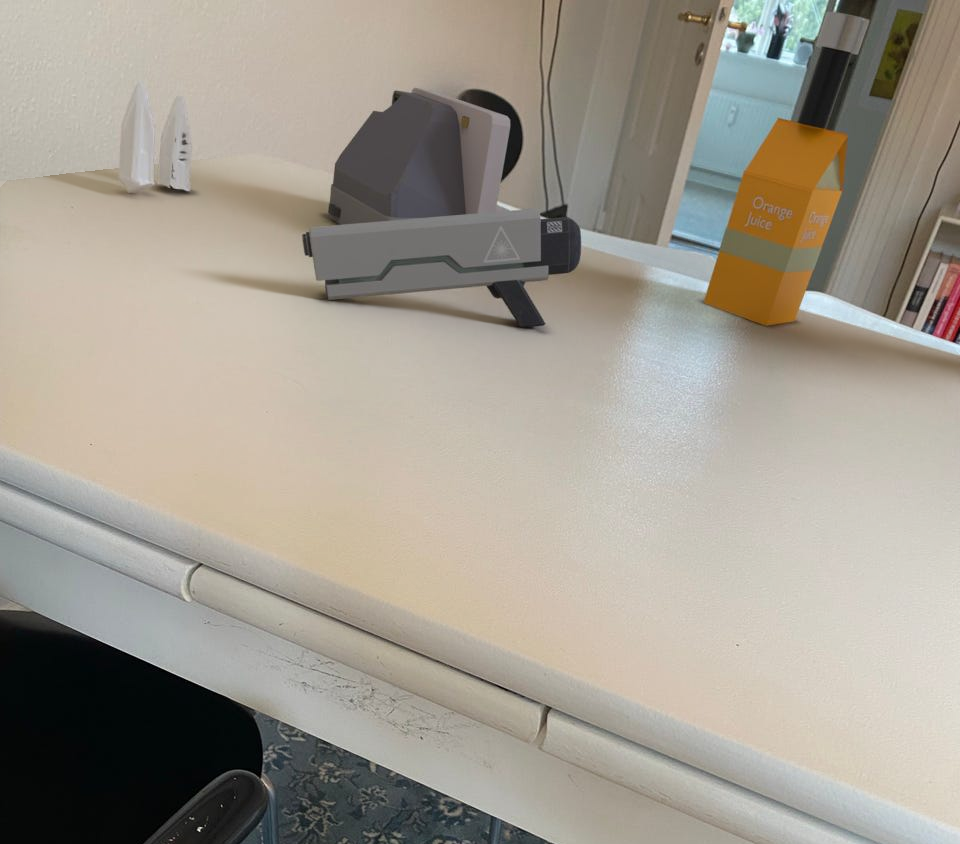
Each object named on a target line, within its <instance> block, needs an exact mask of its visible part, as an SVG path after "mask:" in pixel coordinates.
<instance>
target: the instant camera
mask: <svg viewBox="0 0 960 844" xmlns="http://www.w3.org/2000/svg"><path fill="white" fill-rule="evenodd" d="M510 131H511V119H510V118H509V116H508V115H505V114H502V113H500V112H496V111H493V110H490V109H487V108H484V107H482V106H479V105H476V104H473V103H470V102H467V101H464V100H462V99H458V98H455V97H453V96H449V95H447V94H443V93H441V92H438V91H435V90H433V89H426V88H421V87H420V88H419V87H414V88H412V90H411V92H408V91H403V90H394V91H393V93H392V97H391V105H390V106H389V107H388V108H386V109H385V110H383V111H378V110H372V111H371V113H370V114H369V116H368V117H367V119H366V120H365V121H364V122H363V124H361V126H360V128H359V129H358V131H357V132H356V133H355V135H354V136H353V137H352V139H351V140H350V141H349V143H347V145H346V146H345V148H344V149H343V150H342V152H341V153H340V155H339V156H338V158H337V160H336V161H335V163H334V169H333V171H334V172H333V180H332V183H331V185H330V195H329V203H328V210H327V213H328V218H329V219H330V220H332V221H334V222H335V223H337V224H338V225H345V224H357V223H369V222H381V221H393V220H405V219H417V218H429V217H441V216H453V215H465V214H477V213H489V212H501V211H511V210H510V209H508V208H506V207H504V206H500V205H499V204H498V199H499V195H500V188H501V182H502V177H503V171H504V167H505V166H504V165H505V160H506V154H507V149H508V142H509V136H510Z"/></svg>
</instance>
